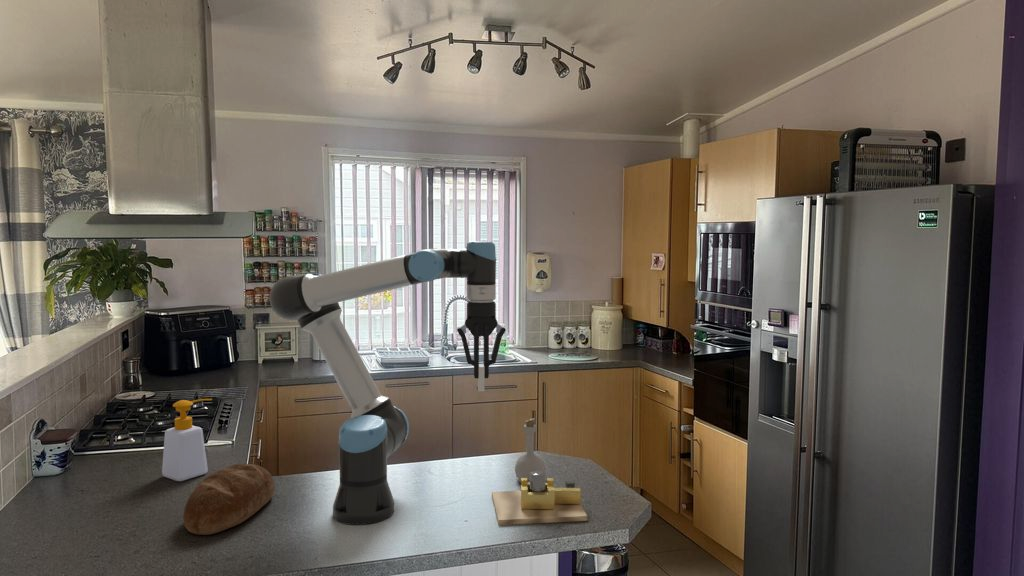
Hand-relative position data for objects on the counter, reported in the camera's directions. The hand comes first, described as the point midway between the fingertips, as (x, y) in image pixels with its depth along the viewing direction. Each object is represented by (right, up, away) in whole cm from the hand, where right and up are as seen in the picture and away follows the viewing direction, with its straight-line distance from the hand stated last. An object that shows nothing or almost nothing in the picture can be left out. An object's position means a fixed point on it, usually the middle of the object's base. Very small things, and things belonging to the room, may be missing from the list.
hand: (481, 390), depth 172 cm
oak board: (+15, -30, -3) cm, 33 cm away
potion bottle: (+13, -29, +17) cm, 36 cm away
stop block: (+23, -28, 0) cm, 37 cm away
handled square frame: (+18, -28, -3) cm, 34 cm away
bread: (-62, -30, -6) cm, 70 cm away
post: (+15, -30, -3) cm, 33 cm away
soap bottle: (-86, -28, +21) cm, 93 cm away
